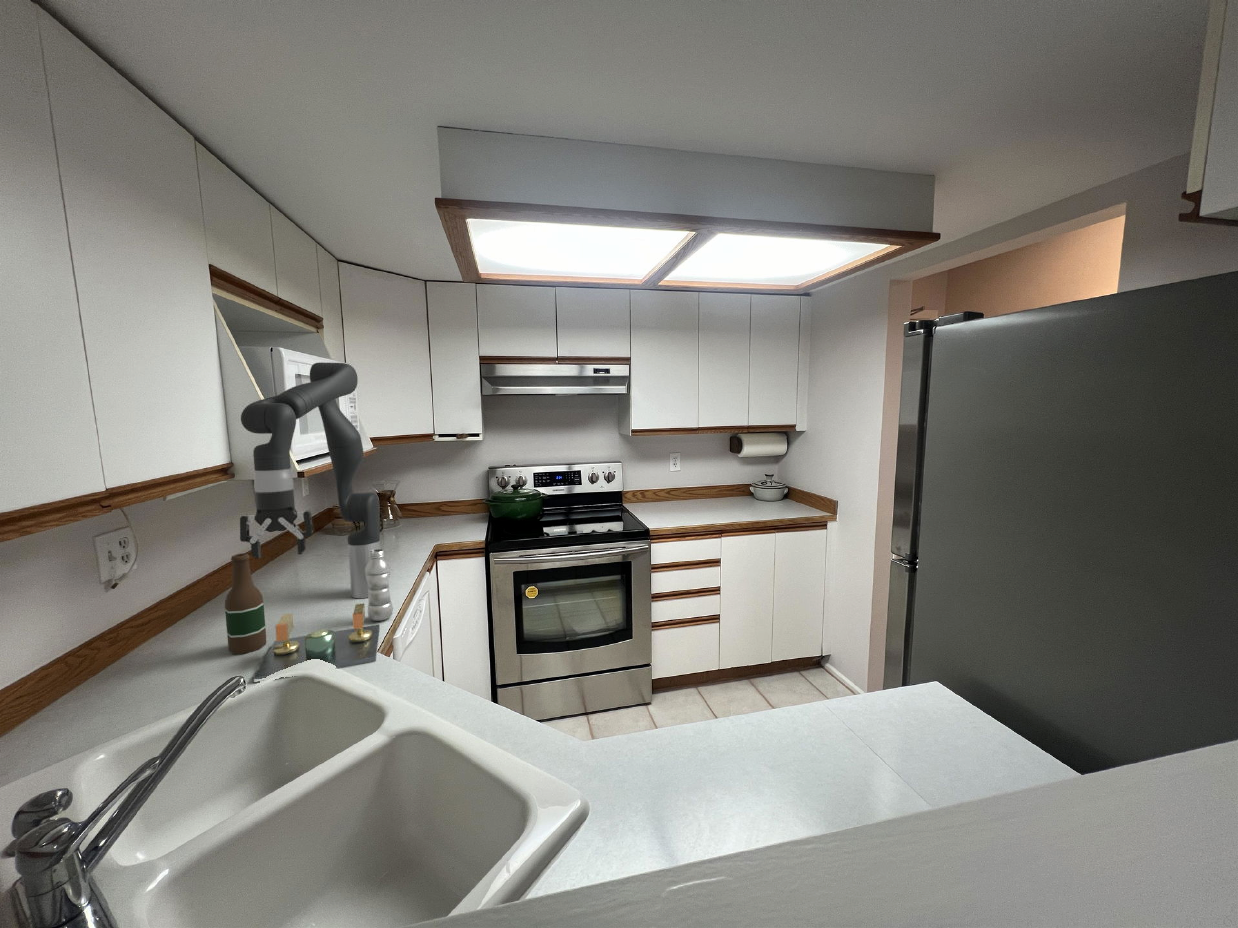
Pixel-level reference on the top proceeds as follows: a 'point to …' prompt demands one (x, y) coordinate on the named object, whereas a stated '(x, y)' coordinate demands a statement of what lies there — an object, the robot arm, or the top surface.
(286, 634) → the knob
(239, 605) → the beer bottle
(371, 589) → the plastic bottle
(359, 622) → the knob
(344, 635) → the base plate
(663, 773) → the top surface
